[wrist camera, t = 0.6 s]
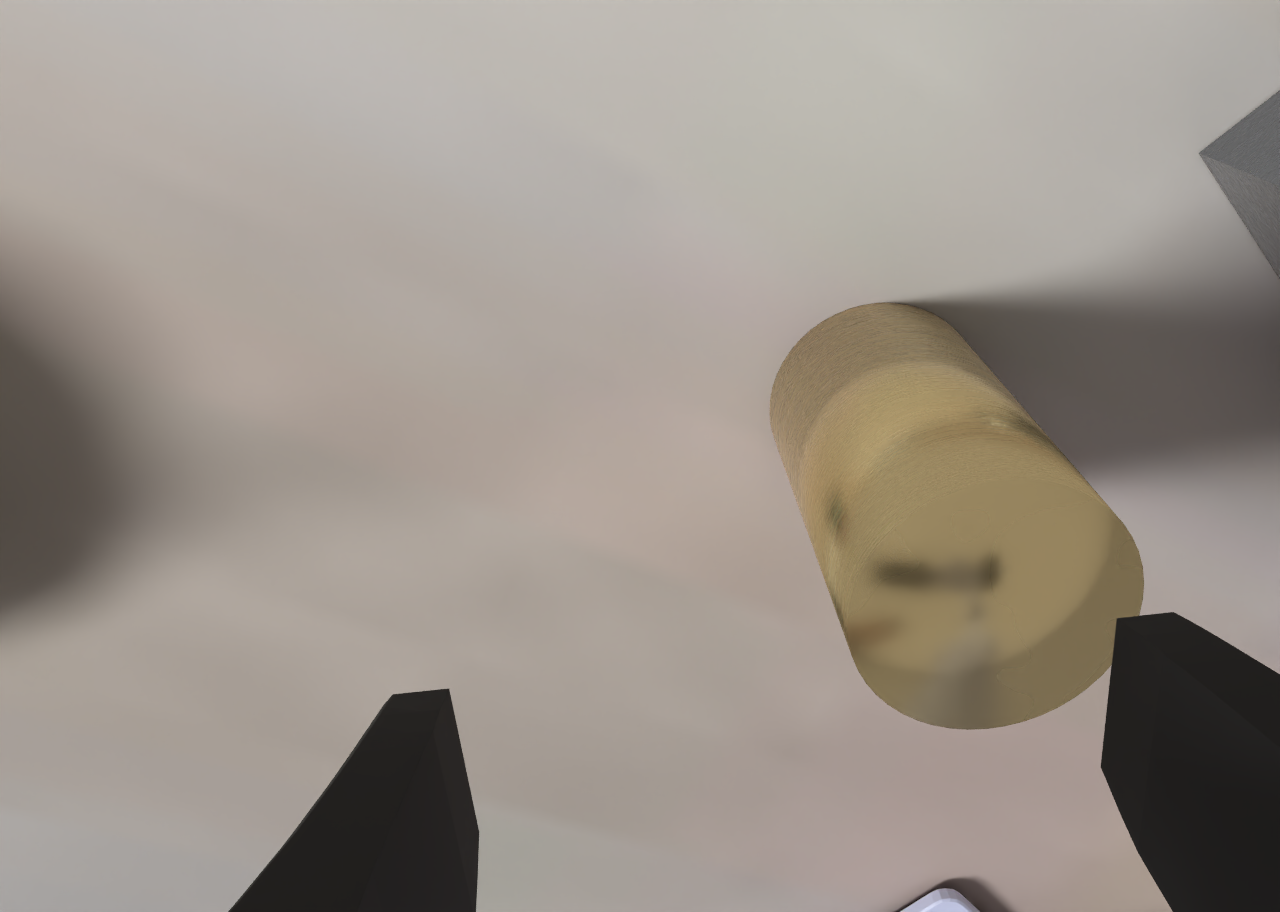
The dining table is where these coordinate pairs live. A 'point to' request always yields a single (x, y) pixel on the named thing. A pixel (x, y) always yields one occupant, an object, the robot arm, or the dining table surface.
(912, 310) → the cylinder
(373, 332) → the dining table surface
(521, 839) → the dining table surface
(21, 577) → the dining table surface
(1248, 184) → the junction block
